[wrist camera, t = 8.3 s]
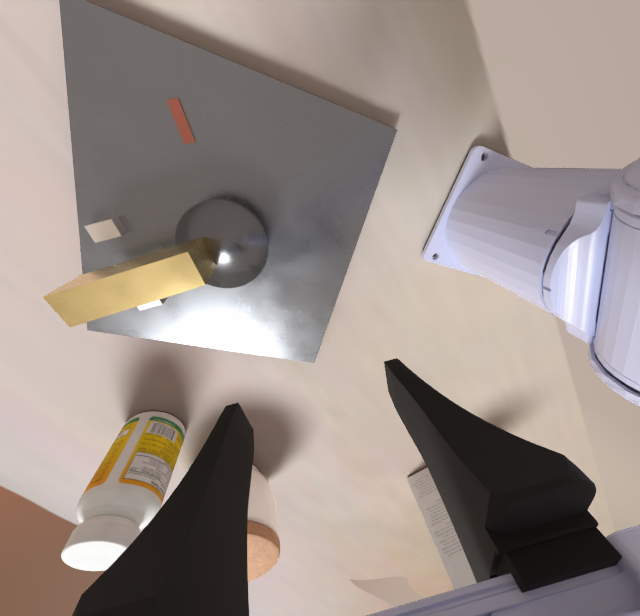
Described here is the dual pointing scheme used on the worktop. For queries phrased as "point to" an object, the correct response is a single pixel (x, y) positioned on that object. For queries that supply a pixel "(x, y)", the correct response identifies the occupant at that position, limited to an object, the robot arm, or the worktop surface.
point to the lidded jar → (261, 527)
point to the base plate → (213, 180)
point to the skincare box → (441, 529)
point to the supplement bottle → (125, 490)
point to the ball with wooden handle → (173, 264)
